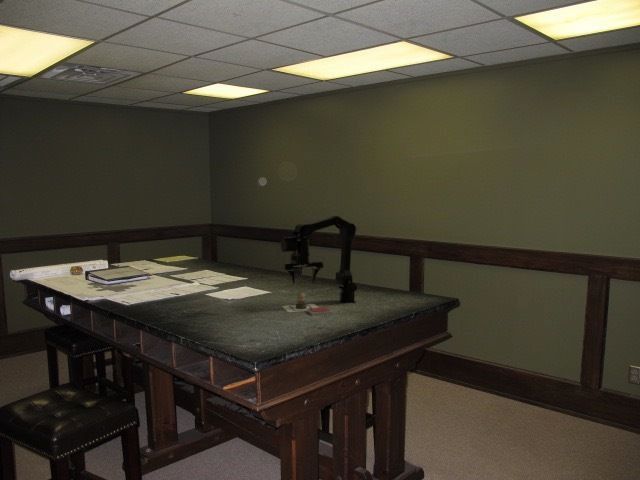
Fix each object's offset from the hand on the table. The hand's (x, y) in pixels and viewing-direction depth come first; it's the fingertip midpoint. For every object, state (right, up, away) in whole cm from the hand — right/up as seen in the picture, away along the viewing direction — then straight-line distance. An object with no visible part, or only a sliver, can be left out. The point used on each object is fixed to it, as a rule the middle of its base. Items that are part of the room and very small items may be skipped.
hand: (303, 283), depth 241 cm
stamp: (-1, -12, 0) cm, 12 cm away
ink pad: (+8, -13, -8) cm, 17 cm away
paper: (-1, -12, 0) cm, 12 cm away
